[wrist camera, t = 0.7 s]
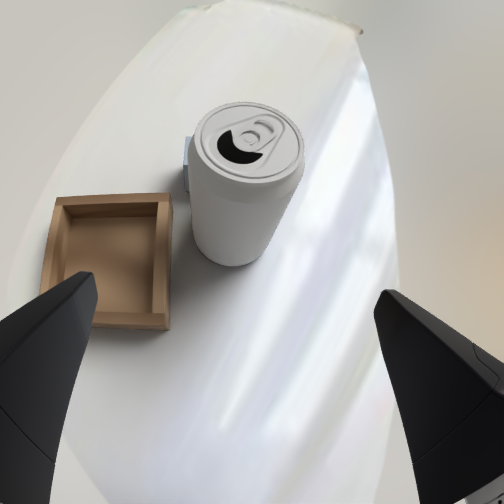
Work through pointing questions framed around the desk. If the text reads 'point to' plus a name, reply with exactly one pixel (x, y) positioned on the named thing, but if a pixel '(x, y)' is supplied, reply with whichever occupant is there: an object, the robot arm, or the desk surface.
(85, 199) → the tray
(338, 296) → the desk surface
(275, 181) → the beverage can
